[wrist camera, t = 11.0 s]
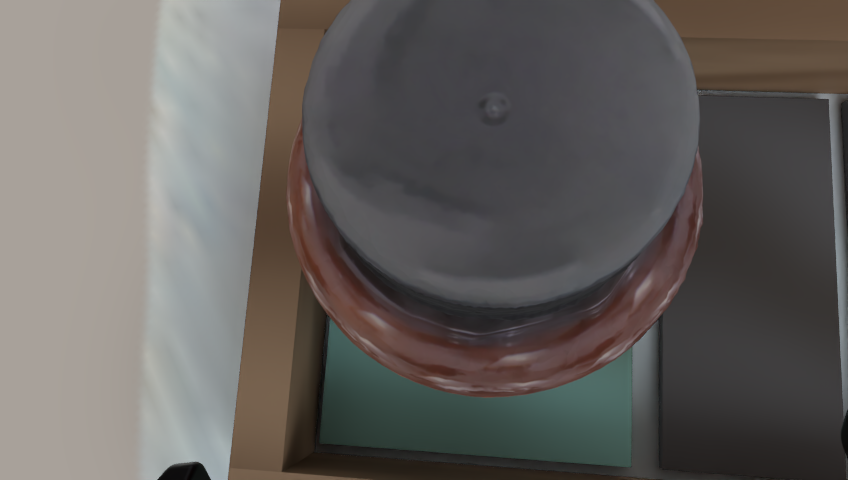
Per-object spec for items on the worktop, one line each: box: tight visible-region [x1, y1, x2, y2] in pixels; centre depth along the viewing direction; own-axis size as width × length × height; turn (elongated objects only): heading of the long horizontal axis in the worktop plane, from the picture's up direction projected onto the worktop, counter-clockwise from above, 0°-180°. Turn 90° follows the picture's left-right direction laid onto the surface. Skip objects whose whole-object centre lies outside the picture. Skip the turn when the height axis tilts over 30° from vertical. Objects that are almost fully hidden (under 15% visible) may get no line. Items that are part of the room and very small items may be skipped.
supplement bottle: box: [286, 0, 703, 398], centre depth 12 cm, size 6×6×11 cm
